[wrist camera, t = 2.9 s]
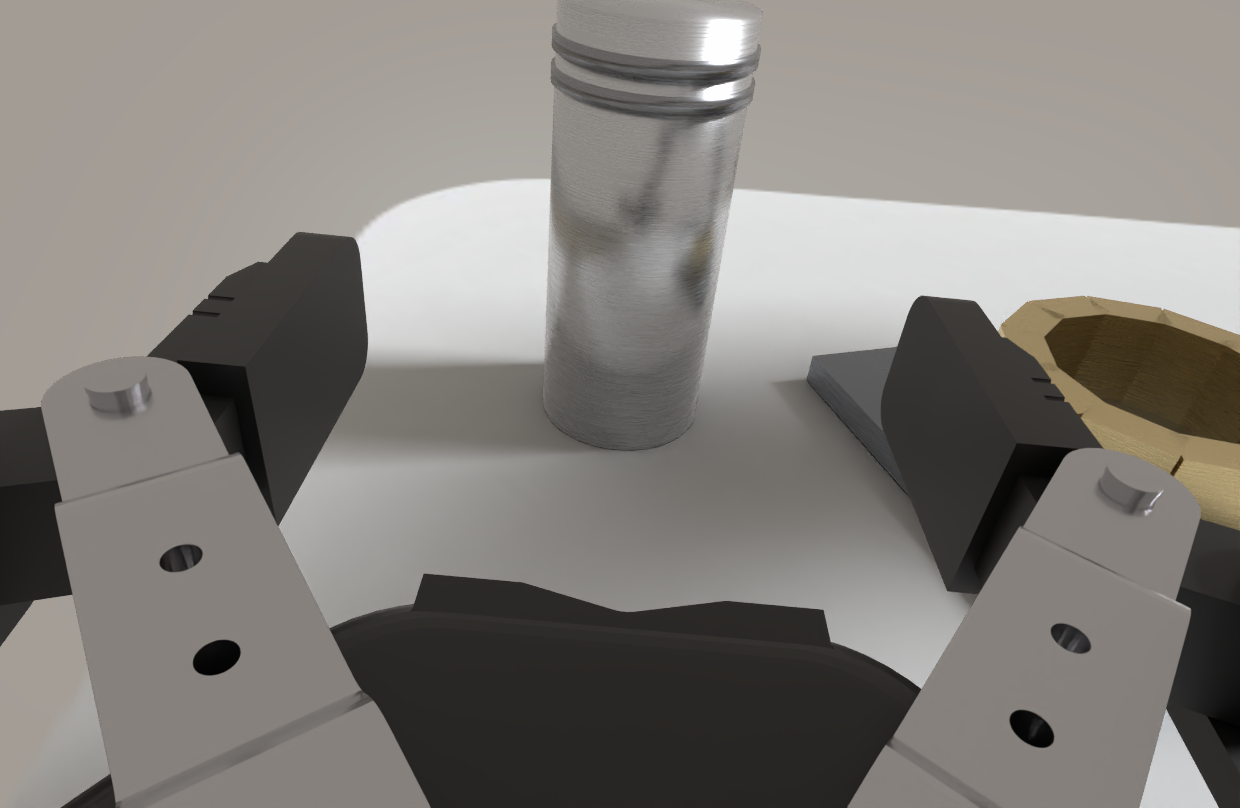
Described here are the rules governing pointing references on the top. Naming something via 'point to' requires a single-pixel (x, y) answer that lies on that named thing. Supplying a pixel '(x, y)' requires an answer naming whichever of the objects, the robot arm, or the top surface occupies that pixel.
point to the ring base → (1100, 389)
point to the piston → (640, 207)
